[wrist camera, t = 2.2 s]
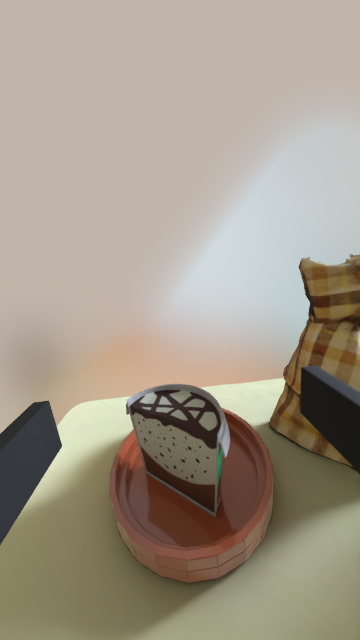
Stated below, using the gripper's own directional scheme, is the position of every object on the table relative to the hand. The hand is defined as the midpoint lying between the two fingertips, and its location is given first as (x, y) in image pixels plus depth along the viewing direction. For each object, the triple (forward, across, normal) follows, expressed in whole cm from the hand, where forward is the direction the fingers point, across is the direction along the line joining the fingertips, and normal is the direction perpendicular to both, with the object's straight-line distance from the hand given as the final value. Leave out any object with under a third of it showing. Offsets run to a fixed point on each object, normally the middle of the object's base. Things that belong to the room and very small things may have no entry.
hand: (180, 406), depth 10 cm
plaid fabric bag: (+14, +20, -17) cm, 30 cm away
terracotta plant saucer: (+10, 0, -17) cm, 20 cm away
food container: (+10, 0, -17) cm, 20 cm away
